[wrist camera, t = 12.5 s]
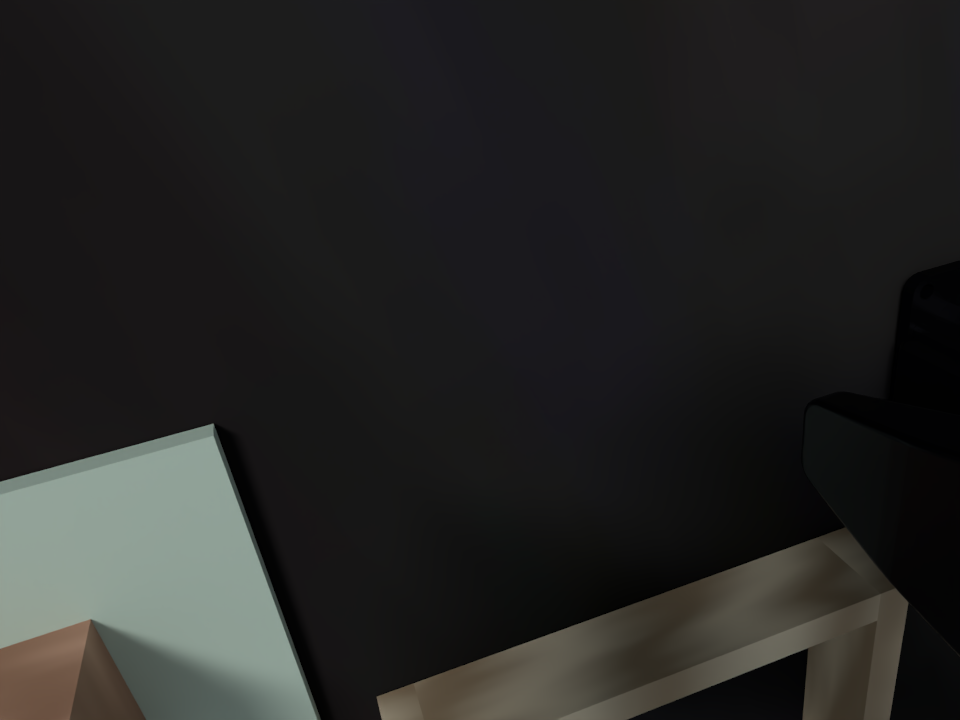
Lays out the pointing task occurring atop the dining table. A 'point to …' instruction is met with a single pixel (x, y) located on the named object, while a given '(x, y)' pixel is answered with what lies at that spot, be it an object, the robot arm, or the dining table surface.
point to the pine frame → (696, 646)
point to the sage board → (153, 579)
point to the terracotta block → (64, 679)
